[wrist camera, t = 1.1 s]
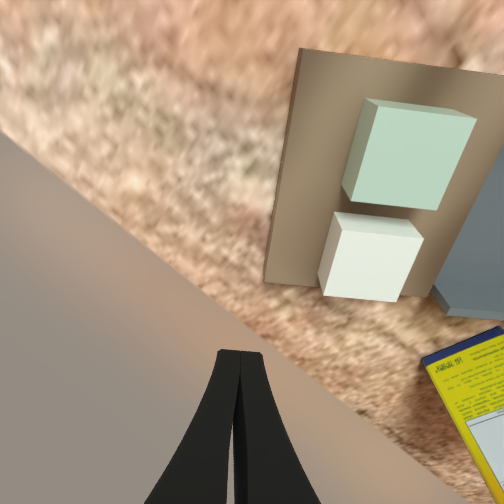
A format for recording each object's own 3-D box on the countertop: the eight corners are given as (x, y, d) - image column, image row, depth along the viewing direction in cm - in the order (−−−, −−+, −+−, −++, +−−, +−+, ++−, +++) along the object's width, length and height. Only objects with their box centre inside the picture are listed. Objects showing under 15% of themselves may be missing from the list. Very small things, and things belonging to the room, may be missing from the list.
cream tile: (408, 219, 18) (424, 238, 17) (384, 279, 20) (396, 302, 19) (334, 211, 18) (342, 230, 16) (317, 273, 20) (323, 295, 18)
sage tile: (452, 109, 15) (477, 118, 14) (419, 193, 17) (436, 210, 16) (364, 97, 15) (378, 106, 13) (341, 184, 17) (350, 200, 16)
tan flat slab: (513, 76, 16) (535, 80, 15) (416, 282, 22) (426, 297, 21) (299, 47, 15) (303, 49, 14) (263, 267, 22) (264, 282, 21)
